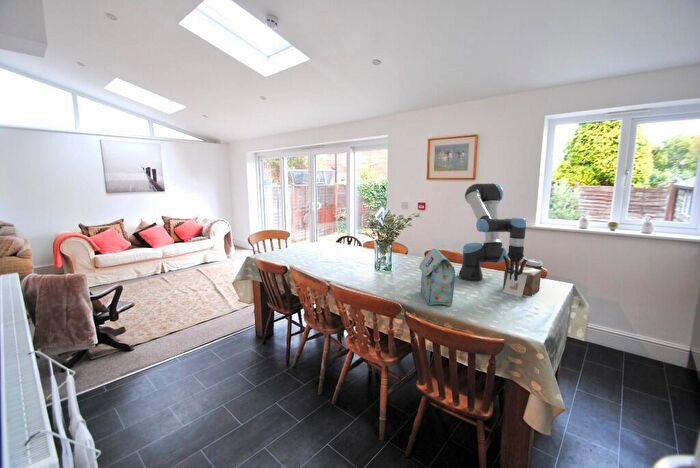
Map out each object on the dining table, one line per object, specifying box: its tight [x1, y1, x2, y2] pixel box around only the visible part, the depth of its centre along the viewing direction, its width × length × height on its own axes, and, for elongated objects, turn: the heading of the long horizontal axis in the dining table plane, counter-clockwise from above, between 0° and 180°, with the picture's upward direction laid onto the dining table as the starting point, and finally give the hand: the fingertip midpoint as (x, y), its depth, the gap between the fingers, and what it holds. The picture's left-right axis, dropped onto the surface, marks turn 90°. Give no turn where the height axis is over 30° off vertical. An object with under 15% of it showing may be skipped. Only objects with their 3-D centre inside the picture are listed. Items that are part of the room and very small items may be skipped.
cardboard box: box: [502, 264, 542, 297], centre depth 190 cm, size 16×12×13 cm
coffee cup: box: [525, 258, 544, 270], centre depth 201 cm, size 10×10×15 cm
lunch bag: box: [418, 248, 456, 307], centre depth 176 cm, size 23×16×27 cm
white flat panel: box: [503, 272, 527, 298], centre depth 184 cm, size 10×13×1 cm
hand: (513, 285), depth 182 cm, fingers closed
